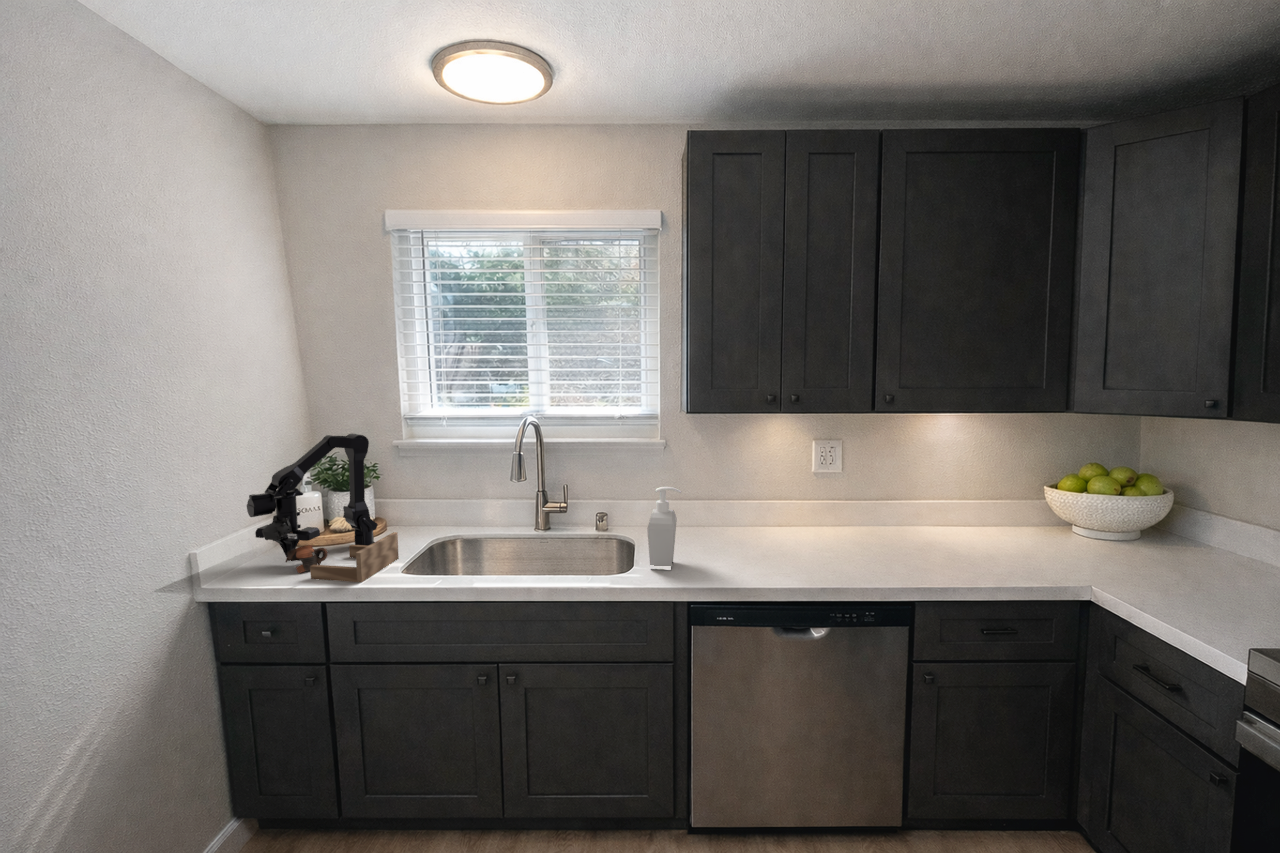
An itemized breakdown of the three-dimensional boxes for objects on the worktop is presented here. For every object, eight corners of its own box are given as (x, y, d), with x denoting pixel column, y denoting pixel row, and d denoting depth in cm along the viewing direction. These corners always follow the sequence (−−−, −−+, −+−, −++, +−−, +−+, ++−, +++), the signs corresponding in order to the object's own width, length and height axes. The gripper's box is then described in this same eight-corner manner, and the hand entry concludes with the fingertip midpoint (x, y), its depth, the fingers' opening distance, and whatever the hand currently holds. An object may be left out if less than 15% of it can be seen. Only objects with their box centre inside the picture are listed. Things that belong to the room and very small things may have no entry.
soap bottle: (679, 573, 193) (680, 492, 190) (646, 571, 194) (647, 491, 191) (681, 560, 205) (682, 483, 202) (651, 558, 206) (651, 482, 203)
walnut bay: (352, 556, 207) (350, 530, 206) (398, 558, 205) (397, 532, 204) (310, 579, 186) (309, 550, 185) (361, 582, 184) (360, 553, 183)
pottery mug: (287, 577, 189) (280, 552, 190) (295, 580, 197) (288, 556, 199) (329, 562, 193) (322, 537, 195) (335, 566, 201) (328, 542, 203)
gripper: (240, 516, 190) (243, 565, 192) (295, 519, 187) (298, 569, 189) (267, 507, 201) (269, 553, 203) (319, 510, 198) (322, 557, 200)
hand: (289, 558), depth 198 cm, fingers closed
